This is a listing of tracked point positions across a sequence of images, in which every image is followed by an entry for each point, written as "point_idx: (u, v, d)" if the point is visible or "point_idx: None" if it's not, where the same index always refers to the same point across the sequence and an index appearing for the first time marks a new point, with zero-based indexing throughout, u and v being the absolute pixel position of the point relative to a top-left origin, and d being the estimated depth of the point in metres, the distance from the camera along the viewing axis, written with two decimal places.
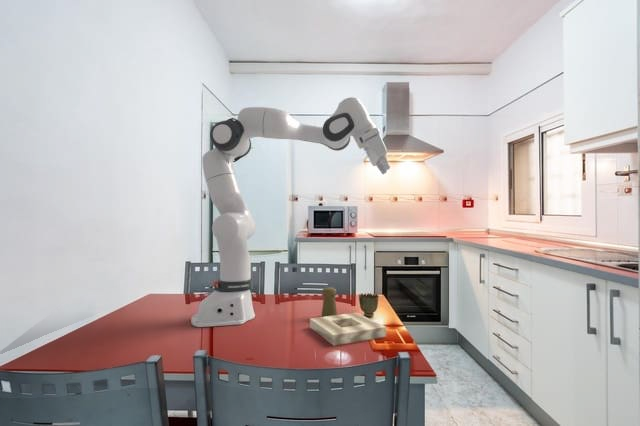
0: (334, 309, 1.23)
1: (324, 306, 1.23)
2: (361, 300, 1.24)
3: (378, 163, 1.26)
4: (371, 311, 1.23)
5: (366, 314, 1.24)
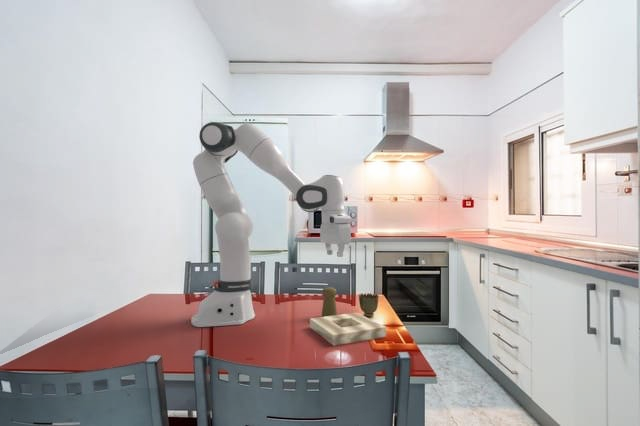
0: (334, 309, 1.23)
1: (324, 306, 1.23)
2: (361, 300, 1.24)
3: (328, 243, 1.29)
4: (371, 311, 1.23)
5: (366, 314, 1.24)
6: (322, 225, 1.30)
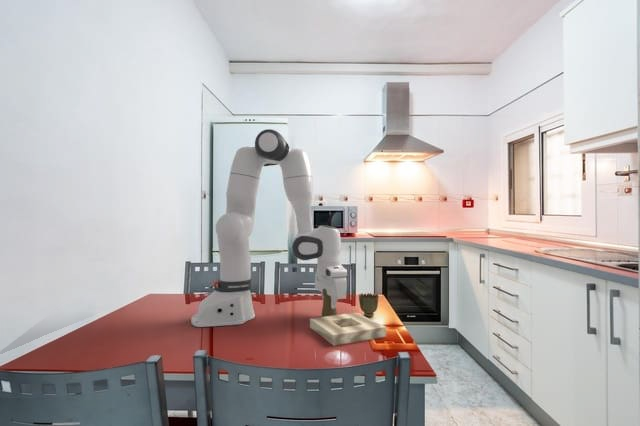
0: (334, 309, 1.23)
1: (324, 306, 1.23)
2: (361, 300, 1.24)
3: None
4: (371, 311, 1.23)
5: (366, 314, 1.24)
6: (317, 273, 1.30)
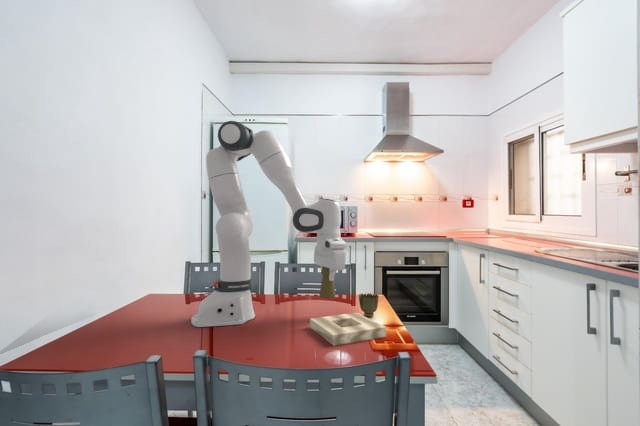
0: (332, 288, 1.23)
1: (323, 285, 1.23)
2: (361, 300, 1.24)
3: None
4: (371, 311, 1.23)
5: (366, 314, 1.24)
6: (316, 247, 1.30)
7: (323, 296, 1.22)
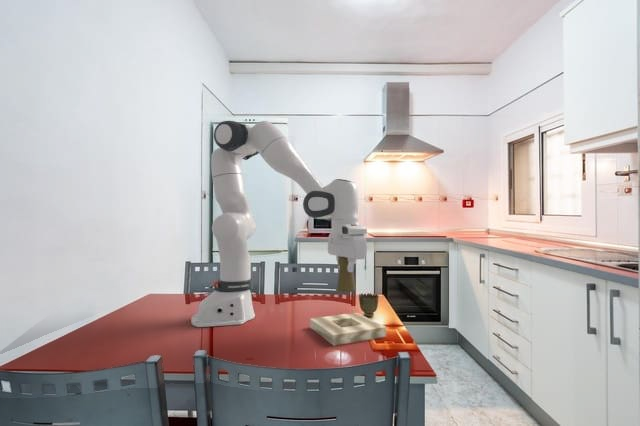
0: (352, 280, 1.08)
1: (341, 277, 1.08)
2: (361, 300, 1.24)
3: (340, 256, 1.12)
4: (371, 311, 1.23)
5: (366, 314, 1.24)
6: (331, 235, 1.15)
7: (342, 290, 1.07)
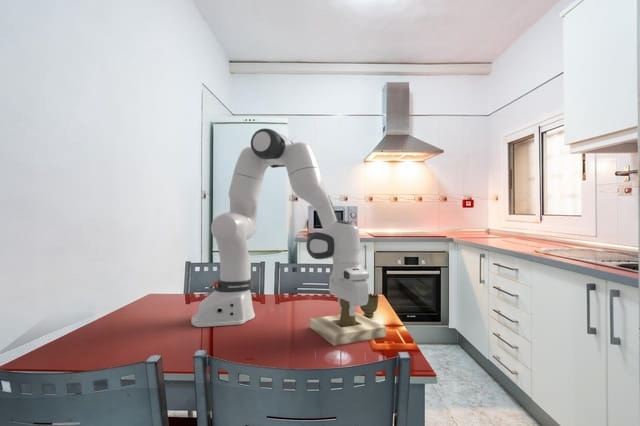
0: (354, 322, 1.06)
1: (342, 319, 1.06)
2: None
3: None
4: (371, 311, 1.23)
5: (366, 314, 1.24)
6: (332, 275, 1.14)
7: None
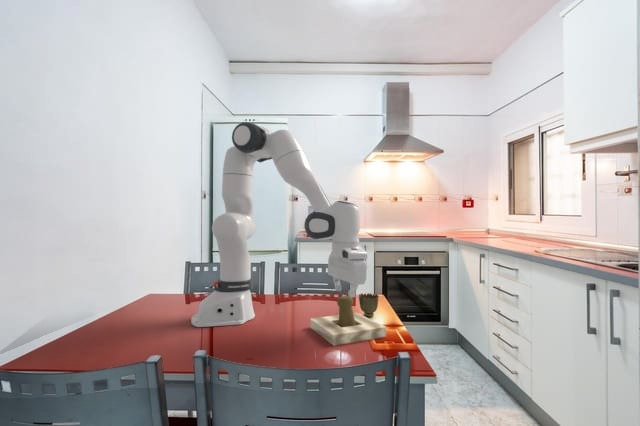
0: (353, 321, 1.07)
1: (341, 318, 1.07)
2: (361, 300, 1.24)
3: None
4: (371, 311, 1.23)
5: (366, 314, 1.24)
6: (331, 256, 1.14)
7: None
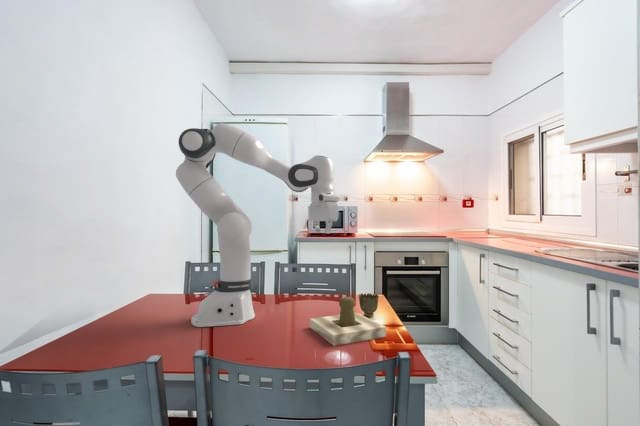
0: (353, 322, 1.06)
1: (341, 319, 1.07)
2: (361, 300, 1.24)
3: (316, 221, 1.35)
4: (371, 311, 1.23)
5: (366, 314, 1.24)
6: (311, 204, 1.36)
7: None
